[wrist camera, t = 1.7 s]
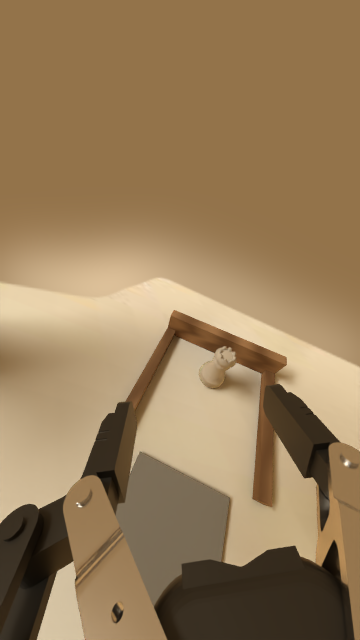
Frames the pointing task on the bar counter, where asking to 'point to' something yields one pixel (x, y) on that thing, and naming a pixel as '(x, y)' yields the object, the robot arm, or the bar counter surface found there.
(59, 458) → the bar counter surface
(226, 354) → the rook chess piece
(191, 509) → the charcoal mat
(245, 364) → the walnut lane
